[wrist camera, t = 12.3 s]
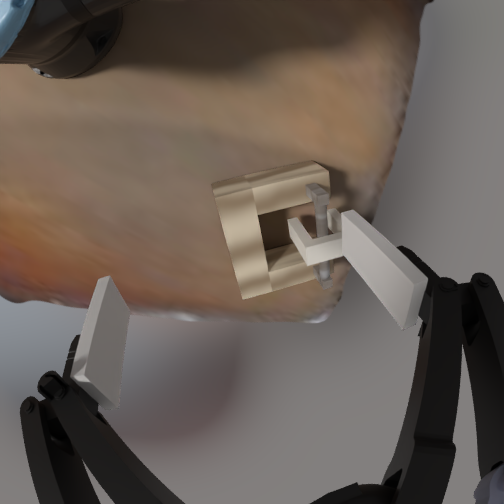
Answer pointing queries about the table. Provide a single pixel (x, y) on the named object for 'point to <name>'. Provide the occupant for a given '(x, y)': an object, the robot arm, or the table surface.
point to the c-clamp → (249, 234)
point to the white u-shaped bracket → (318, 240)
